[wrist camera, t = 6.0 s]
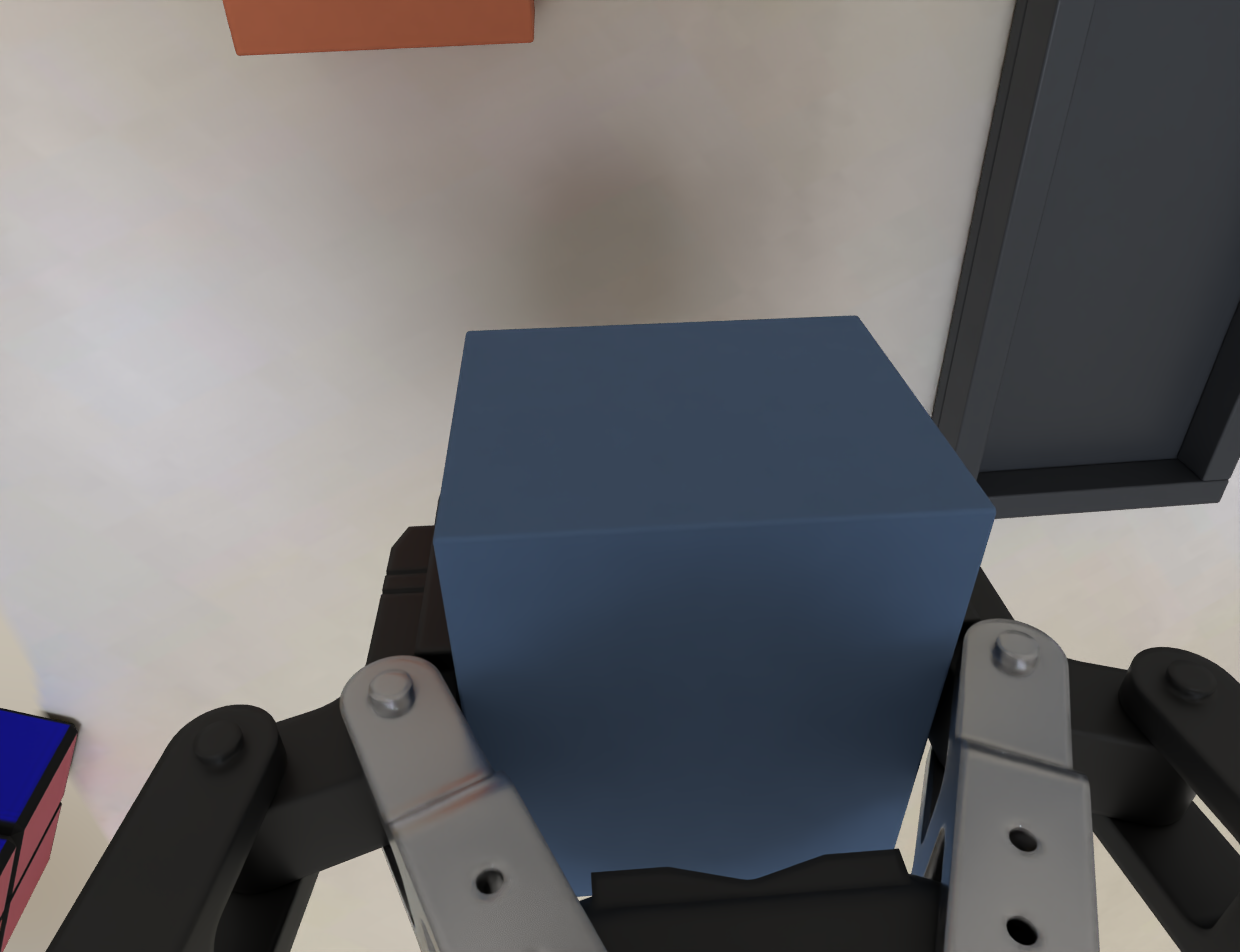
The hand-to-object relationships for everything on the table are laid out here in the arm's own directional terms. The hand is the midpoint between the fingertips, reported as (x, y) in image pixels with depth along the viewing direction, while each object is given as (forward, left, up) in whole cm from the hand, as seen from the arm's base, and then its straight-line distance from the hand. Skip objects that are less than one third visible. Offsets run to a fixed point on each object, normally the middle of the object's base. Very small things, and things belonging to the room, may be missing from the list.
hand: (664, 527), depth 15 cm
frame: (0, +16, -13) cm, 21 cm away
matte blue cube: (0, 0, -1) cm, 1 cm away
